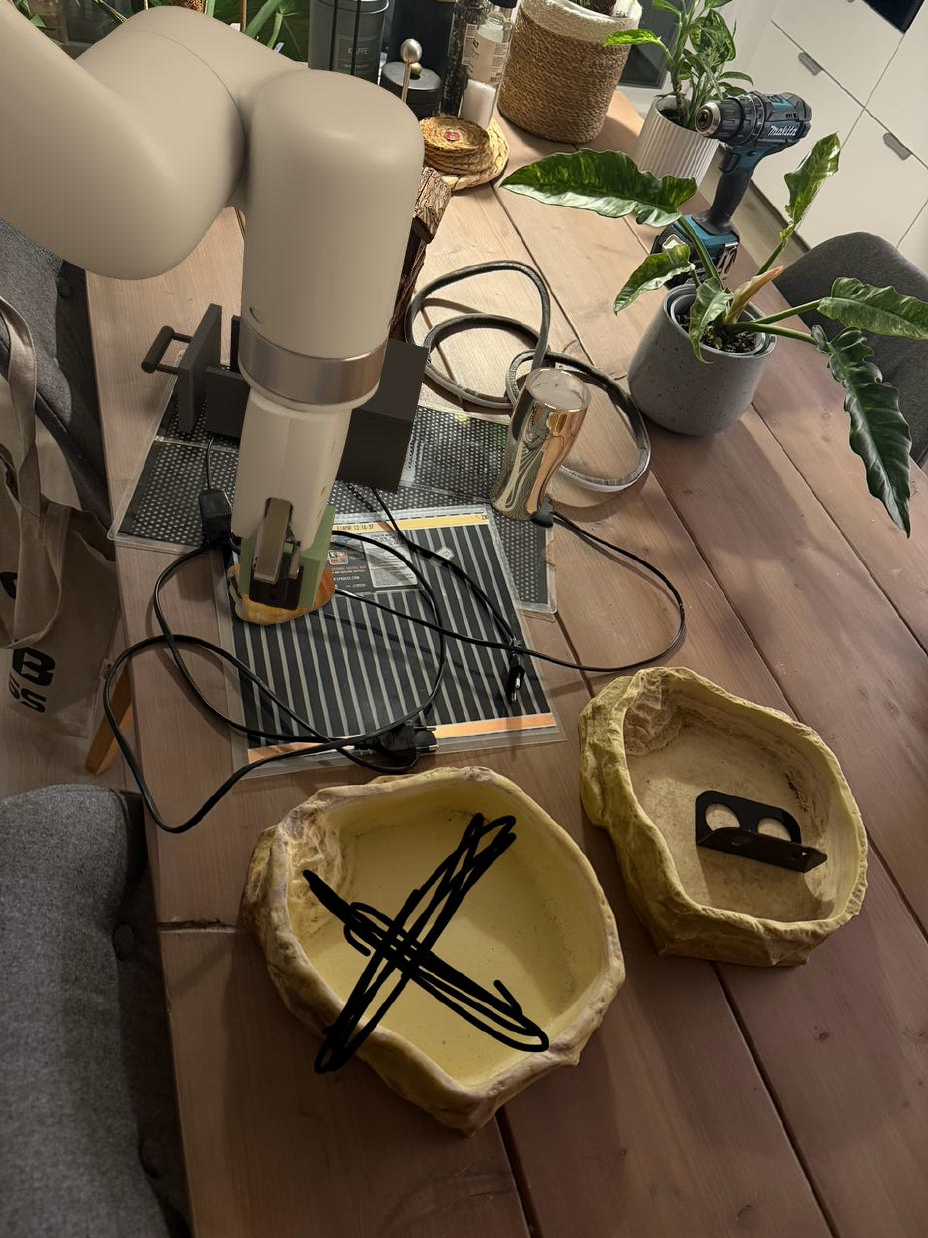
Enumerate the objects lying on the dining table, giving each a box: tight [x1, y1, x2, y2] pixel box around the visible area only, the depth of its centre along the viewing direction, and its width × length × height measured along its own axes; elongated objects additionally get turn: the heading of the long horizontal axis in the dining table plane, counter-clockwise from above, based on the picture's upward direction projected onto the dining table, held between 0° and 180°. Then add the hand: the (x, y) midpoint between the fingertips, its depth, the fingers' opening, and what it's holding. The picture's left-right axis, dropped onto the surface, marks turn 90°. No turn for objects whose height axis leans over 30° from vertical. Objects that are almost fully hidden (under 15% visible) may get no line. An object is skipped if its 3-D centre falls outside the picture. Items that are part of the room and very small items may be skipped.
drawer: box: [140, 302, 251, 439], centre depth 90 cm, size 18×11×8 cm, turn 84°
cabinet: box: [335, 337, 430, 494], centre depth 91 cm, size 15×13×10 cm
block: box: [238, 504, 337, 610], centre depth 58 cm, size 5×5×5 cm
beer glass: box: [488, 367, 592, 521], centre depth 90 cm, size 7×7×15 cm
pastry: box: [226, 562, 336, 626], centre depth 78 cm, size 9×7×4 cm
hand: (284, 569), depth 60 cm, fingers closed on block, 5 cm apart
